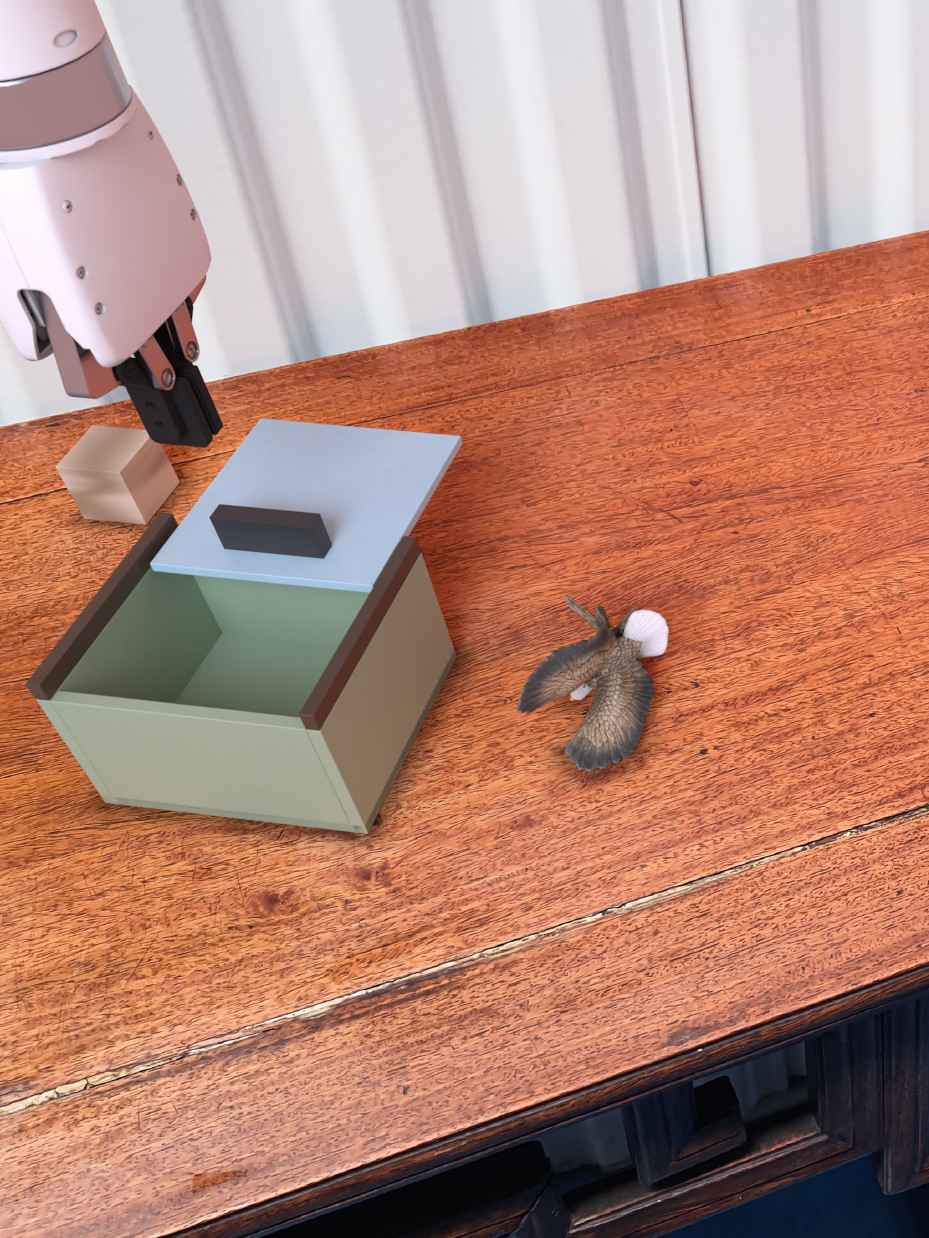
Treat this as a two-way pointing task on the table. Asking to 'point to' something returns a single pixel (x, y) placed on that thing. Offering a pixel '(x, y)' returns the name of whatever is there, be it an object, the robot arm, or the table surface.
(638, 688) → the eagle figurine
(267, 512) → the light blue lid
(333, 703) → the case
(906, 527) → the table surface
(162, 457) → the block
